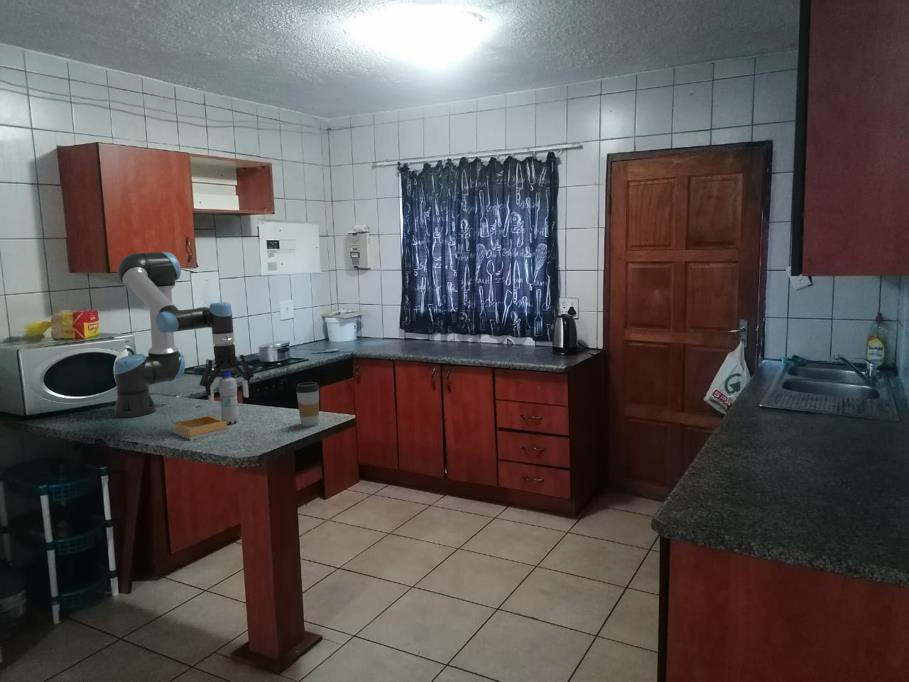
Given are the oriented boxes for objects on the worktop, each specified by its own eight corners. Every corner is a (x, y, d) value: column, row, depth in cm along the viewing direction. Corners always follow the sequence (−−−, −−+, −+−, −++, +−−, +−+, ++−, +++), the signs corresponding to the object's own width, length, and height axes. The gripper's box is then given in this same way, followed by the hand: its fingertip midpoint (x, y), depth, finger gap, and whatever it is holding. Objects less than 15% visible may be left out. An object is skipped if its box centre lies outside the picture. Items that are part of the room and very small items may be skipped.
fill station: (172, 432, 238) (171, 422, 237) (210, 424, 247) (209, 414, 247) (190, 440, 227) (189, 430, 226) (228, 431, 237) (227, 421, 236)
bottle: (234, 425, 244) (229, 372, 241) (218, 425, 246) (213, 372, 243) (243, 420, 251) (239, 369, 248) (227, 420, 252) (223, 368, 249)
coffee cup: (296, 423, 245) (293, 383, 242) (318, 419, 248) (316, 380, 246) (300, 428, 237) (297, 387, 235) (323, 425, 240) (321, 385, 238)
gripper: (195, 349, 232) (201, 408, 235) (259, 340, 250) (264, 395, 253) (186, 348, 238) (192, 405, 241) (250, 339, 255) (254, 392, 258)
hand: (229, 400), depth 247 cm, fingers open, 13 cm apart
